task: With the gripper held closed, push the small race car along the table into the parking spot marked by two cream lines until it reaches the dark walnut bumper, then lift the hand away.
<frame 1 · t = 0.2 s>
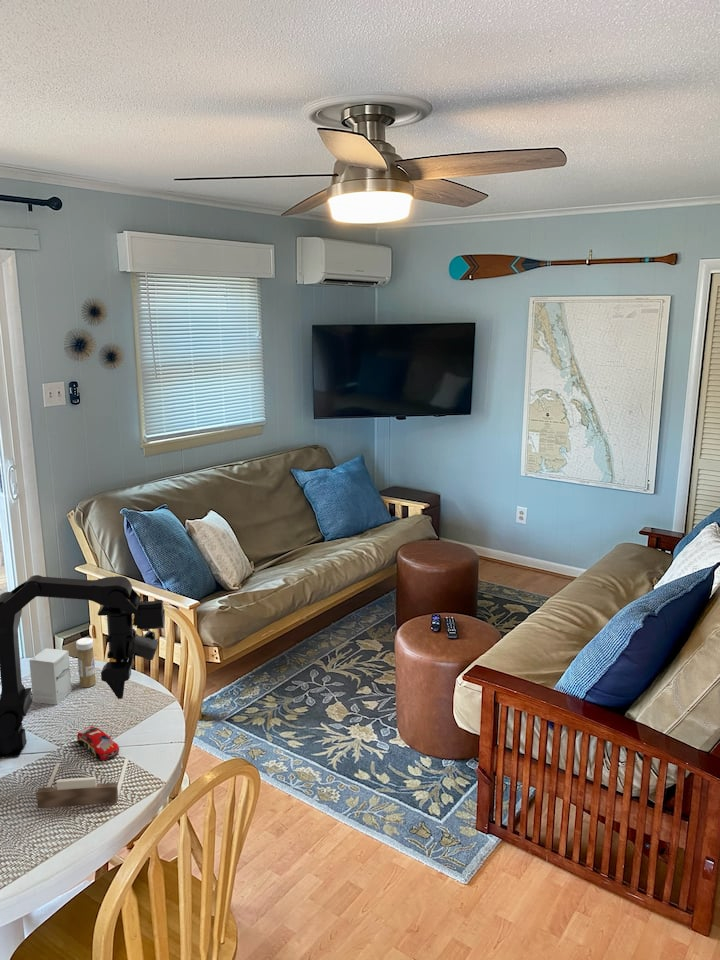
hand: (123, 688, 177), 14 cm above the table, tool pointing down, fingers open, 9 cm apart
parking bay: (87, 777, 167), on the table
race car: (98, 749, 178), on the table
sprinkles bottle: (88, 684, 207), on the table
supplement box: (52, 697, 200), on the table
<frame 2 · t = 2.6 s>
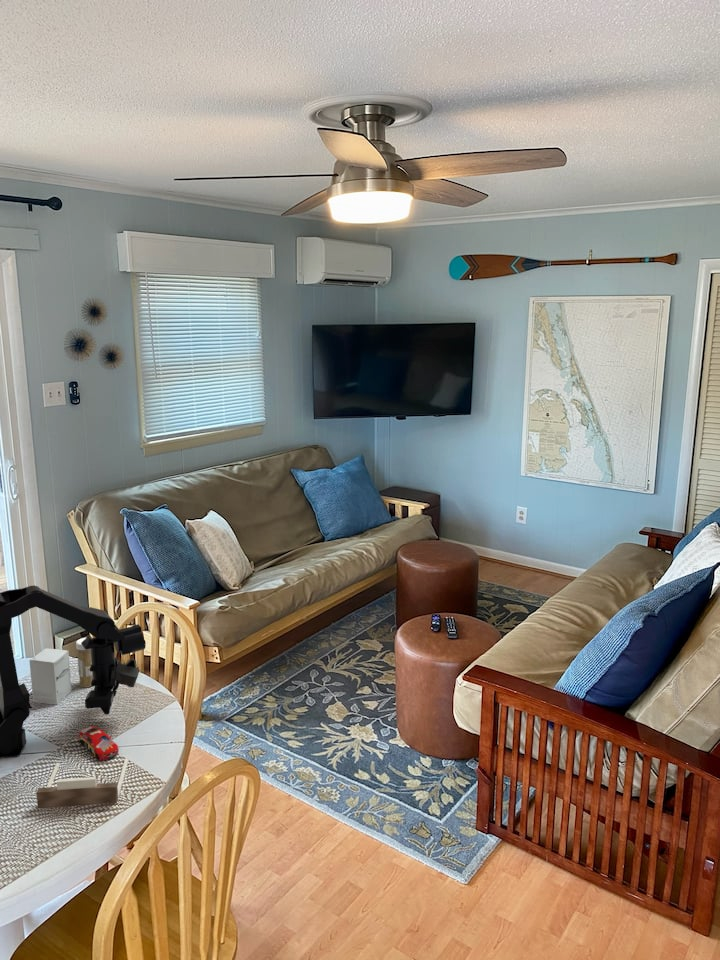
hand: (107, 713, 189), 2 cm above the table, tool pointing down, fingers closed
nothing on the table moved.
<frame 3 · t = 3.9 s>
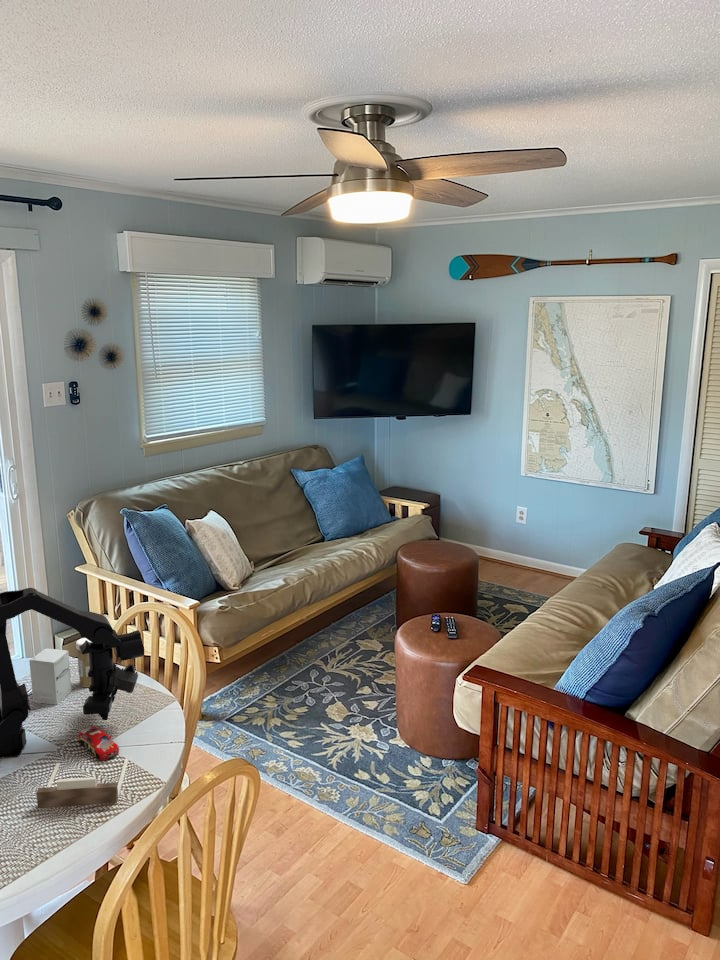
hand: (105, 719, 187), 1 cm above the table, tool pointing down, fingers closed
nothing on the table moved.
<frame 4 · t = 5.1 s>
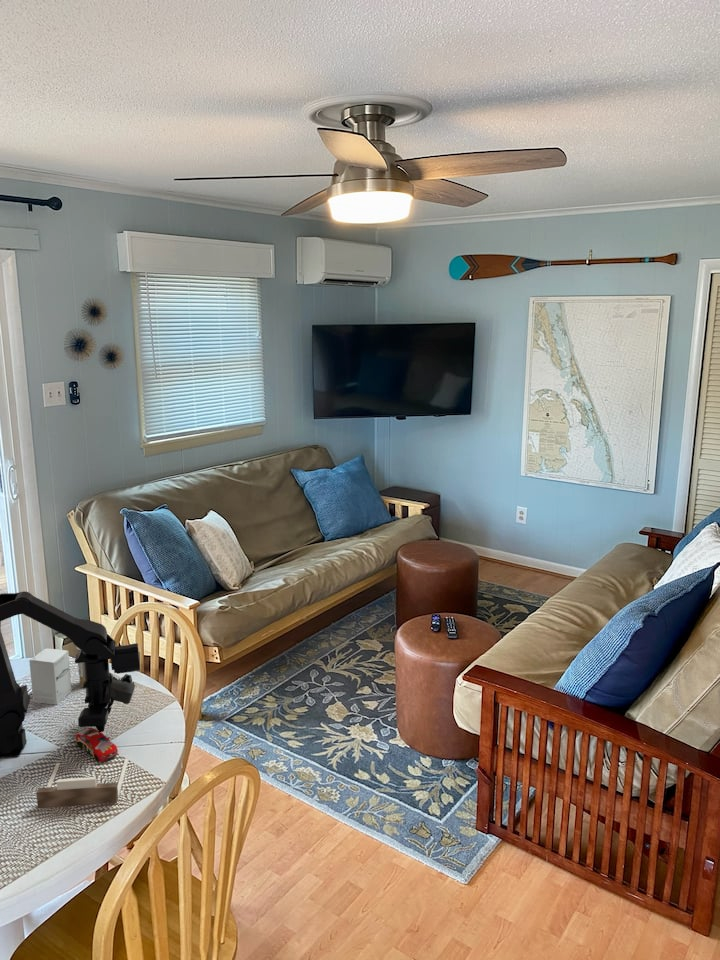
hand: (101, 731, 182), 2 cm above the table, tool pointing down, fingers closed
nothing on the table moved.
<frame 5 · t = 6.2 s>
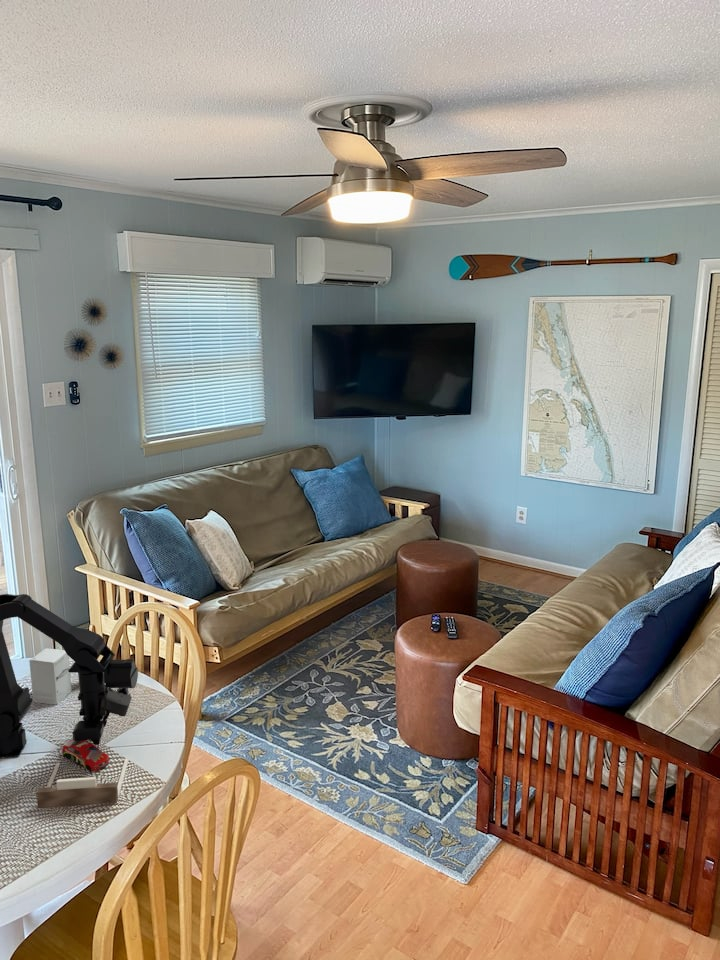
hand: (97, 744, 176), 2 cm above the table, tool pointing down, fingers closed
race car: (85, 761, 173), on the table
everything else where it was.
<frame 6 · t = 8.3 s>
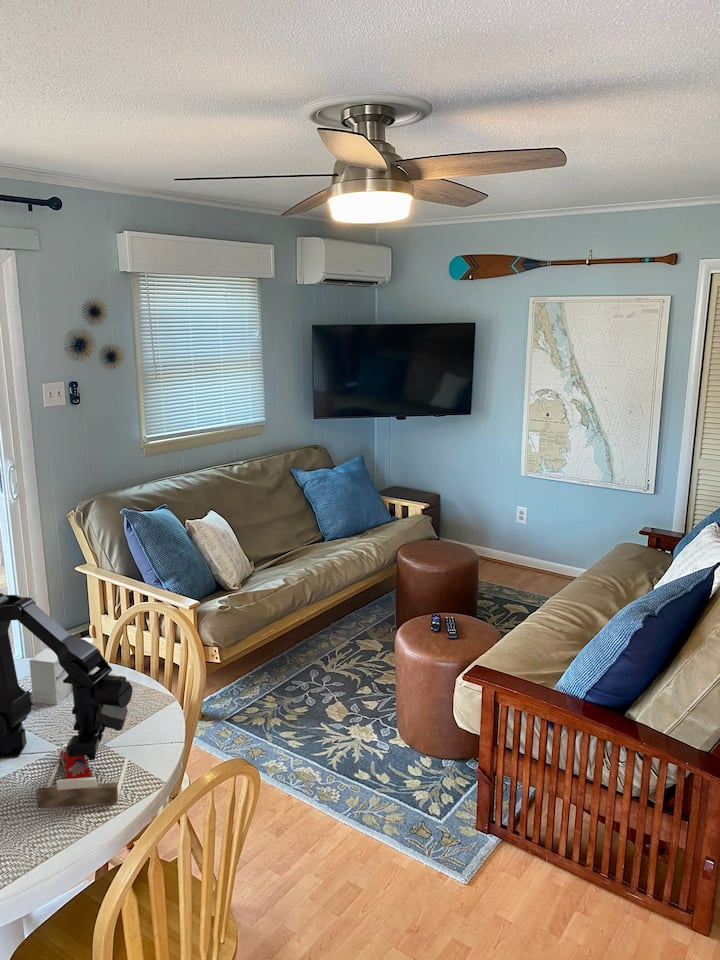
hand: (92, 759, 170), 2 cm above the table, tool pointing down, fingers closed
race car: (75, 771, 169), on the table, touching gripper
everything else where it was.
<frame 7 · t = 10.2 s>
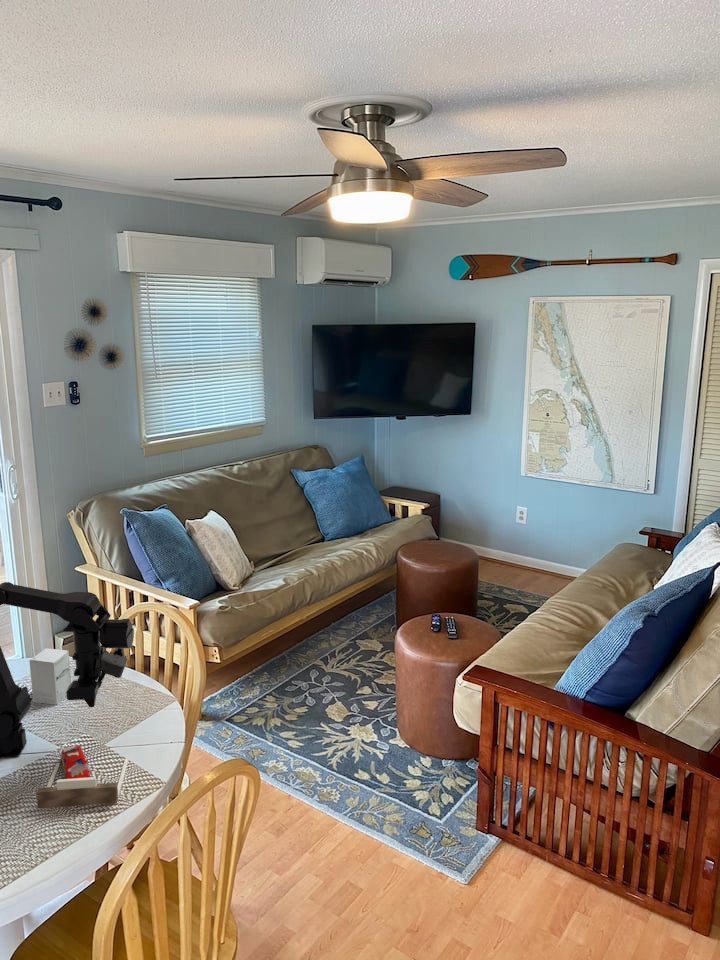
hand: (92, 706, 174), 12 cm above the table, tool pointing down, fingers closed
race car: (75, 772, 169), on the table
everything else where it was.
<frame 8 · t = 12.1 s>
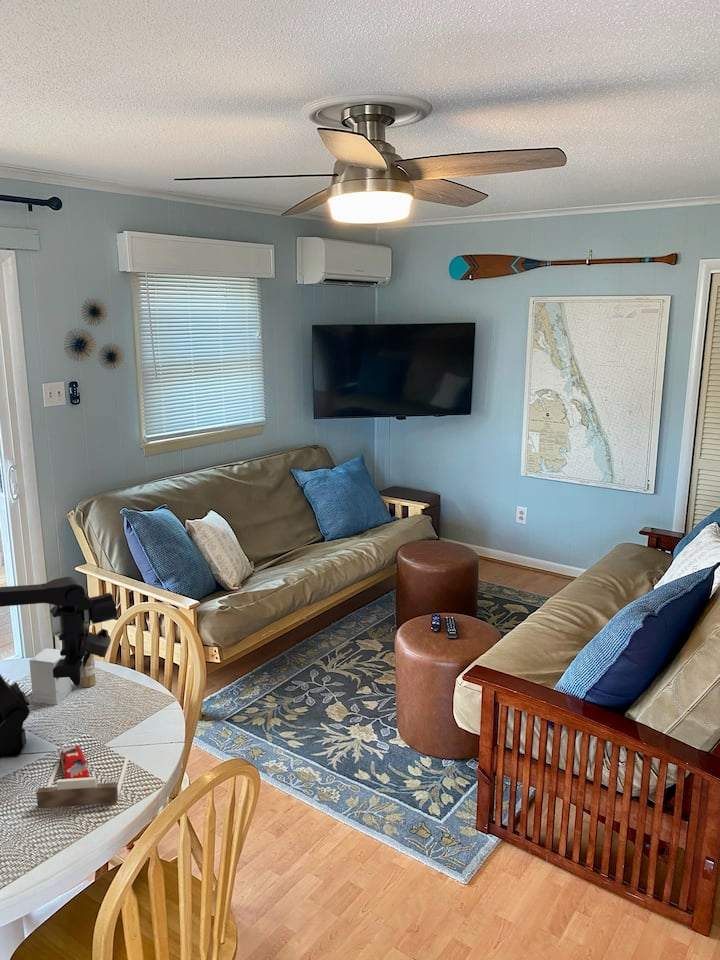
hand: (77, 684, 183), 12 cm above the table, tool pointing down, fingers closed
nothing on the table moved.
at the end: race car inside the target area on the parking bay (6.5 cm from its centre), point -0.5 cm above the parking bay's base; race car tilted 0°; race car moved 9.2 cm from its start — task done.
